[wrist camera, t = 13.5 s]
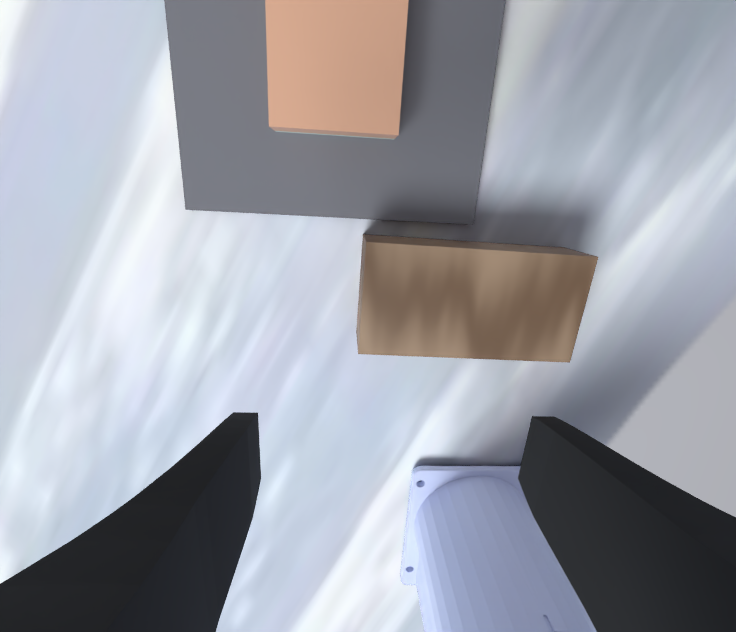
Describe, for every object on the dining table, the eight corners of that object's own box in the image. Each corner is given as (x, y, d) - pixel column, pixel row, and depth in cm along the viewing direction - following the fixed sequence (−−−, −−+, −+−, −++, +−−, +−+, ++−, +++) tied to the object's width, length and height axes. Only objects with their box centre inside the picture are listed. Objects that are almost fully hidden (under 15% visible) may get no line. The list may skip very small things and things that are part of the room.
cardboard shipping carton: (569, 362, 18) (358, 353, 17) (538, 338, 20) (356, 330, 20) (598, 257, 16) (366, 242, 15) (559, 246, 19) (362, 233, 18)
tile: (398, 135, 15) (415, -99, 12) (268, 126, 14) (261, -116, 12) (393, 139, 16) (408, -70, 14) (275, 131, 16) (270, -85, 13)
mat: (470, 223, 18) (473, 224, 17) (189, 209, 17) (185, 209, 16) (527, -181, 13) (533, -192, 13) (145, -233, 12) (139, -246, 12)
